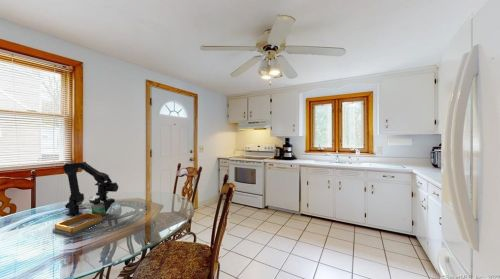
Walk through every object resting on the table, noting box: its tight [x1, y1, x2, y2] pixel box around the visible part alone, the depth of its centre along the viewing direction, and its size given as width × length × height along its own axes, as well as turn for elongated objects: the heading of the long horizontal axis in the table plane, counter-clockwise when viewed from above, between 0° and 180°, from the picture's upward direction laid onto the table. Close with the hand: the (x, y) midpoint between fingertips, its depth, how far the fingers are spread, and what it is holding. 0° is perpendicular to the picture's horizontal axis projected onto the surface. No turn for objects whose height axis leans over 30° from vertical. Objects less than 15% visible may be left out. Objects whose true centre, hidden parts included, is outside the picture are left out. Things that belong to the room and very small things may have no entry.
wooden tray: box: [52, 212, 105, 238], centre depth 133 cm, size 16×21×5 cm
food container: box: [90, 201, 107, 217], centre depth 151 cm, size 12×6×10 cm, turn 168°
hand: (101, 211), depth 152 cm, fingers open, 9 cm apart
